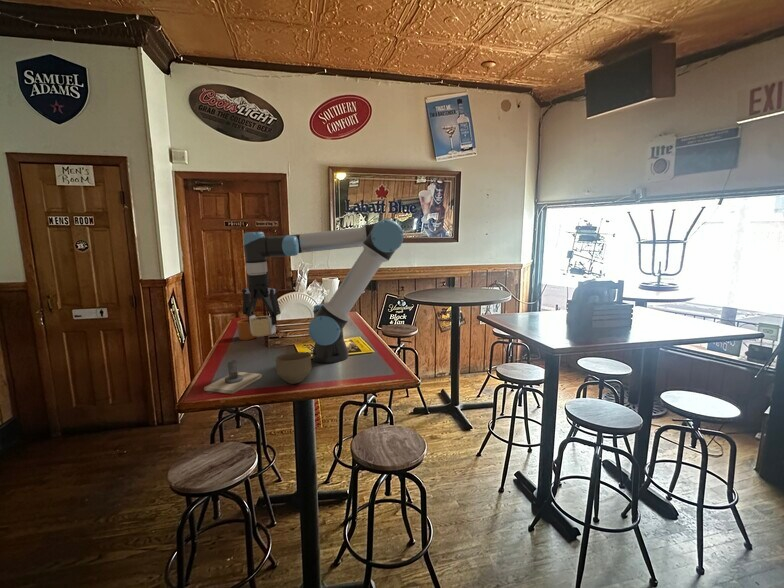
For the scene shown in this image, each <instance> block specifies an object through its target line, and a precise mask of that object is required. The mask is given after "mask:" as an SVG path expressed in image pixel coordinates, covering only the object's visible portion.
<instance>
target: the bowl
mask: <svg viewBox="0 0 784 588" xmlns="http://www.w3.org/2000/svg"><path fill="white" fill-rule="evenodd" d="M311 357H312V353H311V352H305V351H304V352H303V351H299V352H298V351H297V352H288V353H283V354H280V355H277V356H276V357H275V358H274V360H275V364H276V365H275V366H276V373H277V375H278V376H279V378H281V379H283V380H284V381H286V382H287V383H288V384H292V385H294V384H300V383H301V382H303V381H304V380H305V378H306V377H307V376H308V375H309V374H310V373H311V371H312V368H313V367H312V358H311Z"/></svg>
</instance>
